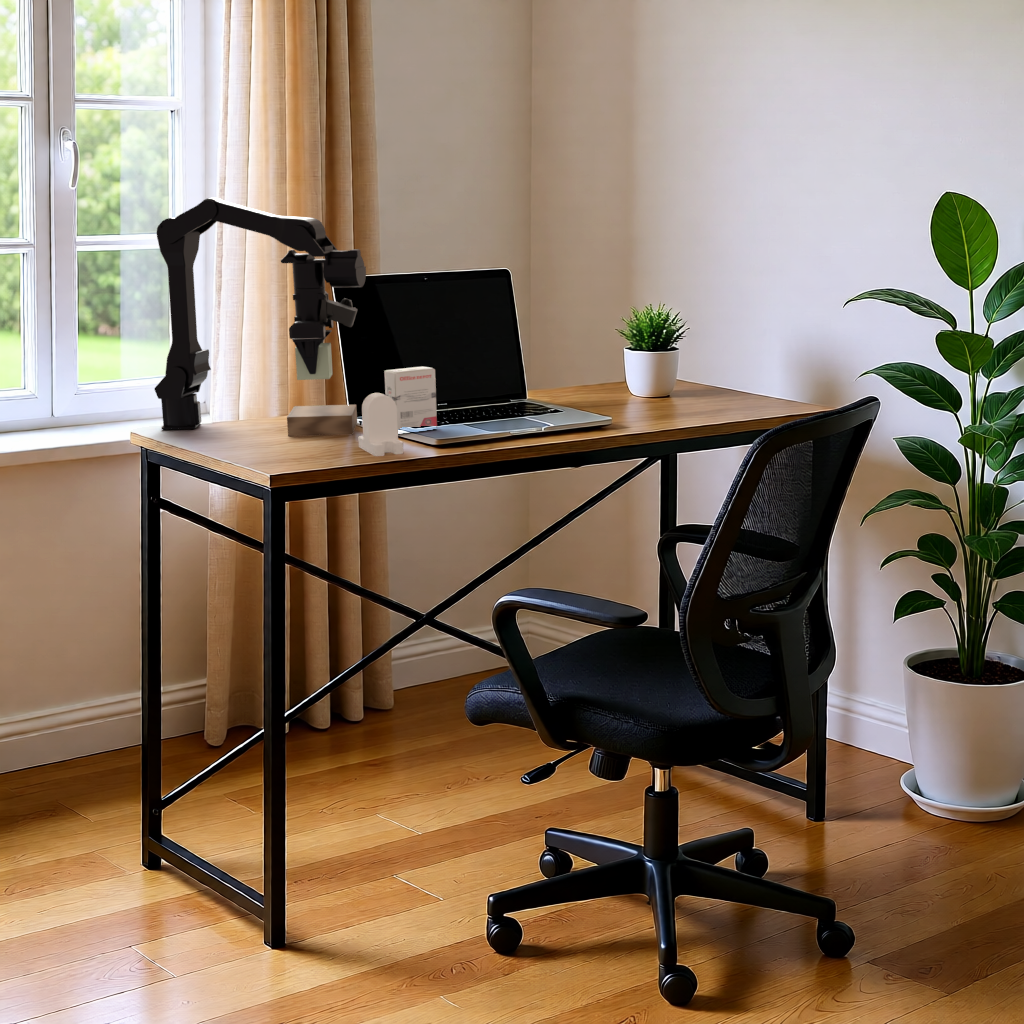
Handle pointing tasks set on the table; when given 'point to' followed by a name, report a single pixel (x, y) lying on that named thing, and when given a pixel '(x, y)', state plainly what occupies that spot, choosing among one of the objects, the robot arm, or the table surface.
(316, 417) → the walnut block
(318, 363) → the sage cube
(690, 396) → the table surface
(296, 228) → the robot arm
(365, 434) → the white rounded upright block
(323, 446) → the table surface
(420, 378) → the ink box
